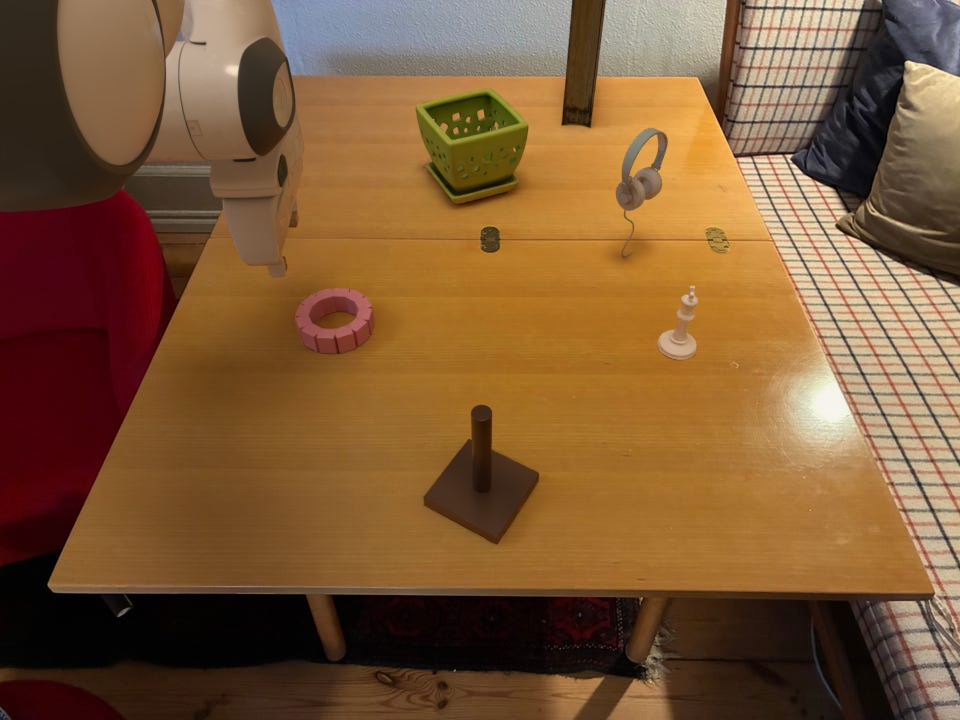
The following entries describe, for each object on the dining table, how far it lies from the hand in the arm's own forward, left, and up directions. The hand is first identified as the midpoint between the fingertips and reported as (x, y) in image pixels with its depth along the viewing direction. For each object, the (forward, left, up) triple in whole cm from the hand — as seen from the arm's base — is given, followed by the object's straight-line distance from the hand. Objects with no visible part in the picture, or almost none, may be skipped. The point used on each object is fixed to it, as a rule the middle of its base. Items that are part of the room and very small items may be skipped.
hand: (285, 247), depth 81 cm
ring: (+3, -2, -14) cm, 15 cm away
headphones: (+37, -29, -15) cm, 49 cm away
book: (+76, -3, -15) cm, 77 cm away
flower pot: (+42, +1, -15) cm, 45 cm away
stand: (-9, -32, -14) cm, 36 cm away
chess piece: (+23, -42, -15) cm, 50 cm away
